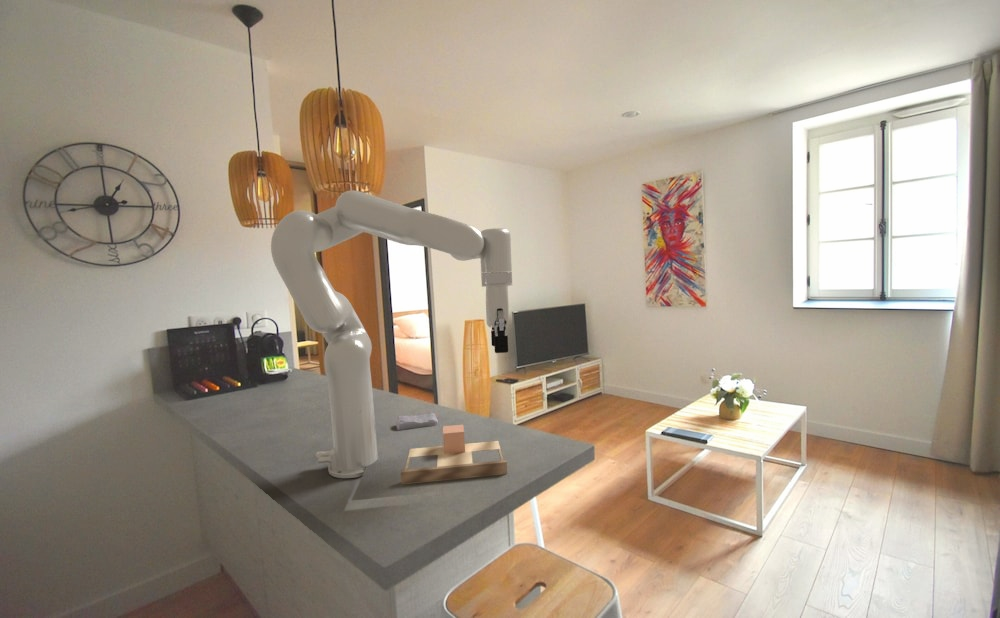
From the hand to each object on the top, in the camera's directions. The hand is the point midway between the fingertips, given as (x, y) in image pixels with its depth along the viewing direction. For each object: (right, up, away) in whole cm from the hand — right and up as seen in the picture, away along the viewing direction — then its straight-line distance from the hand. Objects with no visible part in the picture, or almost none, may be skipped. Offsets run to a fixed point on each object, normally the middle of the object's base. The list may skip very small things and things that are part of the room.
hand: (499, 348), depth 107 cm
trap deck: (-10, -26, -8) cm, 29 cm away
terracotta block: (-11, -24, -2) cm, 27 cm away
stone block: (-24, -25, +19) cm, 40 cm away
